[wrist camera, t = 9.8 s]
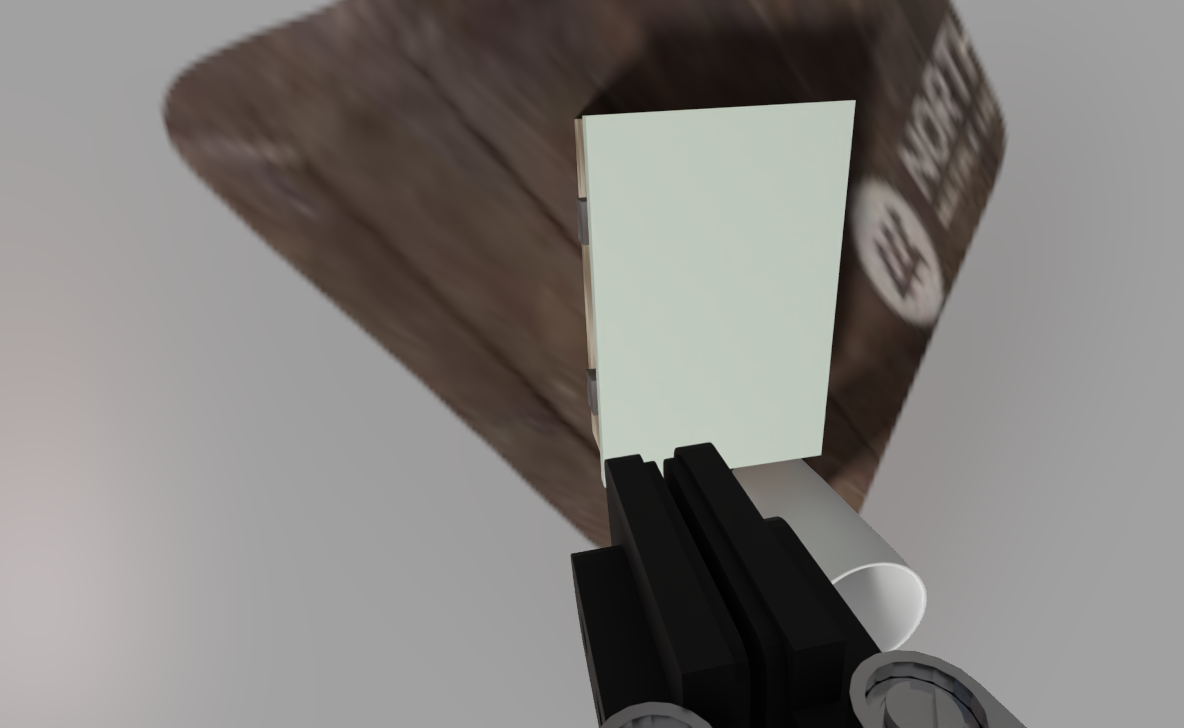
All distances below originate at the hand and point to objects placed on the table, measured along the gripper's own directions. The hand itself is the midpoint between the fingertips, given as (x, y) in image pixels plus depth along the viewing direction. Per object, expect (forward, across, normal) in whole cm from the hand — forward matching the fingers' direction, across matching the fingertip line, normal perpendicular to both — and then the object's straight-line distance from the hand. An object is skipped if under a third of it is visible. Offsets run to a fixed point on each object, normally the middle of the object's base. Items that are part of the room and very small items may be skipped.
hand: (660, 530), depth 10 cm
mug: (+26, -12, +19) cm, 35 cm away
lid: (+21, -8, +4) cm, 23 cm away
